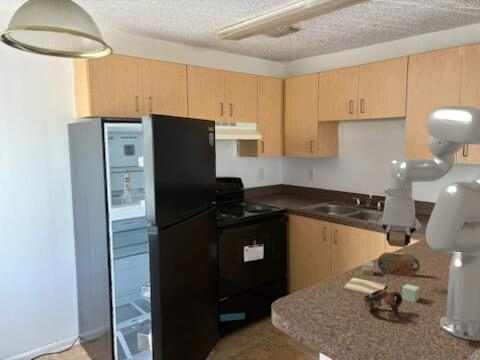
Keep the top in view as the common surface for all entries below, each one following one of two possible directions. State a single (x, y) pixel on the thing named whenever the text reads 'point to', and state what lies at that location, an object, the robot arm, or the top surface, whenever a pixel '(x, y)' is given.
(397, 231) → the walnut block
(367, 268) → the maple block
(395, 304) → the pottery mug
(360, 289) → the plate
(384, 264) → the tin
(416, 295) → the sage block
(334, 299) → the top surface
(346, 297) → the top surface
